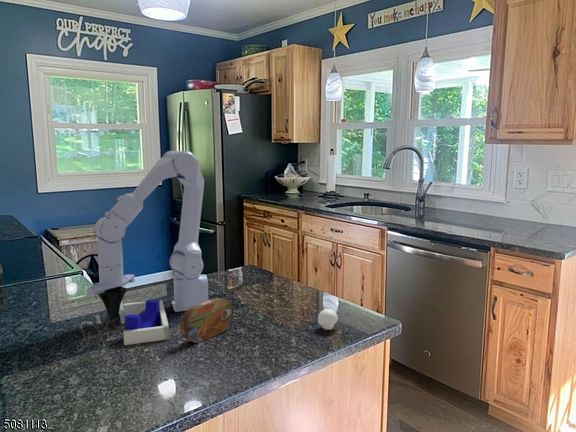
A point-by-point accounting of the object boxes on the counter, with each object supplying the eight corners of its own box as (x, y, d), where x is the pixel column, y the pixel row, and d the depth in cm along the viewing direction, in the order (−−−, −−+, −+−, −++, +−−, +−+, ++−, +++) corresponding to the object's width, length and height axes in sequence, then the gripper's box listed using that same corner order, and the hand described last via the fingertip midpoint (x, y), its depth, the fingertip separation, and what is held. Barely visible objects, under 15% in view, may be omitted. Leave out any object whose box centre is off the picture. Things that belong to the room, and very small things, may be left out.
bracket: (162, 309, 122) (162, 299, 121) (169, 339, 103) (168, 327, 102) (124, 314, 118) (123, 303, 118) (124, 345, 99) (123, 332, 99)
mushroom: (323, 333, 107) (324, 314, 106) (314, 326, 111) (314, 307, 110) (341, 330, 109) (341, 311, 108) (331, 323, 113) (331, 305, 112)
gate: (122, 312, 119) (121, 298, 119) (124, 324, 112) (124, 309, 111) (119, 313, 119) (118, 299, 118) (121, 324, 111) (120, 309, 111)
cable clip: (143, 321, 114) (142, 299, 113) (160, 322, 113) (159, 300, 113) (120, 341, 102) (119, 316, 101) (138, 342, 102) (137, 317, 101)
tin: (187, 348, 98) (186, 312, 97) (178, 344, 100) (177, 309, 99) (234, 327, 110) (234, 295, 109) (225, 324, 112) (225, 292, 111)
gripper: (101, 273, 102) (103, 328, 104) (143, 260, 116) (144, 309, 117) (78, 270, 105) (81, 324, 107) (122, 257, 118) (124, 305, 120)
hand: (113, 316), depth 112 cm, fingers closed
